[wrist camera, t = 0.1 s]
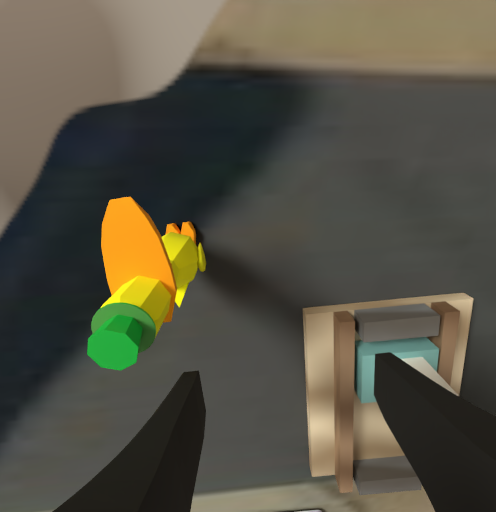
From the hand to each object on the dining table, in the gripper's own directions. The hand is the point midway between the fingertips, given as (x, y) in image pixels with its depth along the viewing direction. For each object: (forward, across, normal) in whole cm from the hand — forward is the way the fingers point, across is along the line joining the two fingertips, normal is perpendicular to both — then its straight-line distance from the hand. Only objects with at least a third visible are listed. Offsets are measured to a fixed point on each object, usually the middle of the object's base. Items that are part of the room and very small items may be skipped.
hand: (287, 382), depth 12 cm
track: (+10, -8, +10) cm, 16 cm away
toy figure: (+10, +6, -4) cm, 12 cm away
